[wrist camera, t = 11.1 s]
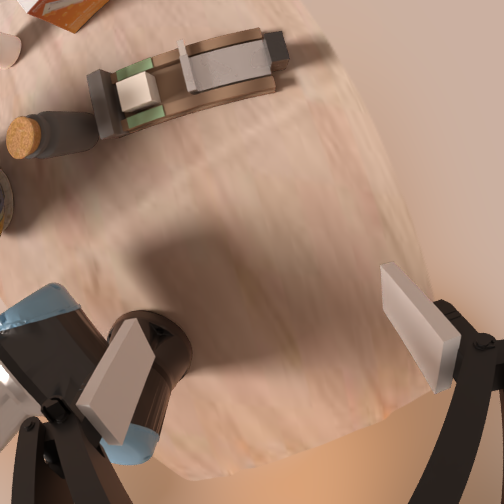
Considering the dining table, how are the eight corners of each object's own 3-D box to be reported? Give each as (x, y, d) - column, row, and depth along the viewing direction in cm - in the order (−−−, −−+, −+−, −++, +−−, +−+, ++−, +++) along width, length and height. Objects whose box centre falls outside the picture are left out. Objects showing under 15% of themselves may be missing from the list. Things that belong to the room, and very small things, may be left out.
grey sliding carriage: (193, 95, 36) (183, 89, 31) (182, 47, 34) (170, 35, 28) (286, 73, 35) (291, 63, 29) (272, 25, 32) (275, 10, 27)
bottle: (63, 142, 39) (-3, 153, 25) (77, 107, 37) (12, 104, 23) (90, 157, 40) (27, 172, 26) (106, 121, 38) (44, 121, 24)
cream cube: (134, 112, 37) (122, 111, 33) (127, 86, 36) (115, 83, 32) (161, 103, 37) (151, 100, 33) (154, 76, 35) (144, 71, 31)
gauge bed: (119, 137, 39) (100, 139, 34) (106, 81, 36) (86, 75, 30) (275, 92, 37) (278, 85, 31) (258, 32, 34) (259, 17, 28)
